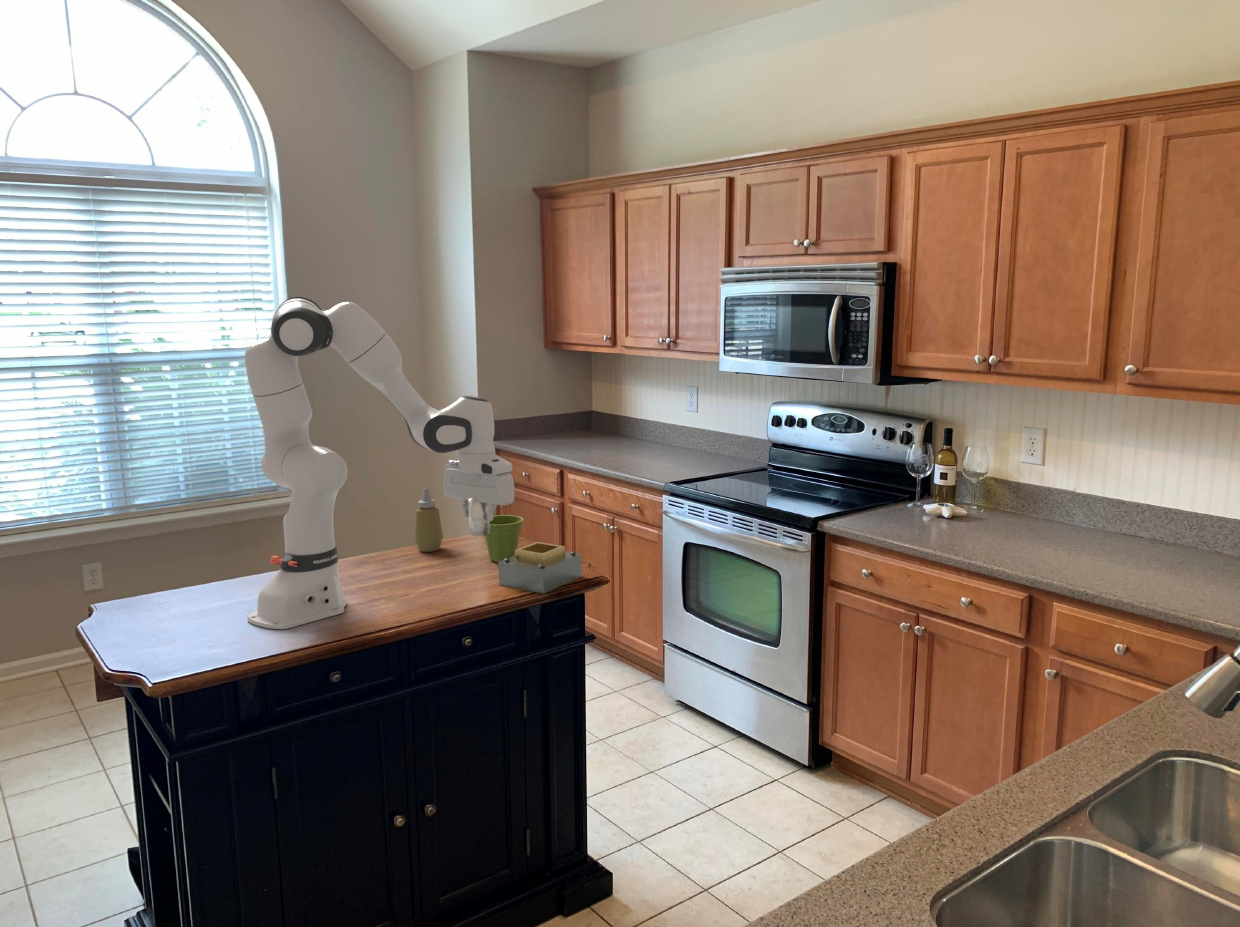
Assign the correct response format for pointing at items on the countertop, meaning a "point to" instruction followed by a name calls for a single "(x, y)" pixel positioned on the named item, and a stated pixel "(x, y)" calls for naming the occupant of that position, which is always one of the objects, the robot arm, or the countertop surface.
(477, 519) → the spout can
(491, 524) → the plant pot
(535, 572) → the grey square housing block
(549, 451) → the countertop surface
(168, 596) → the countertop surface
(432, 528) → the squeeze bottle
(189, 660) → the countertop surface
